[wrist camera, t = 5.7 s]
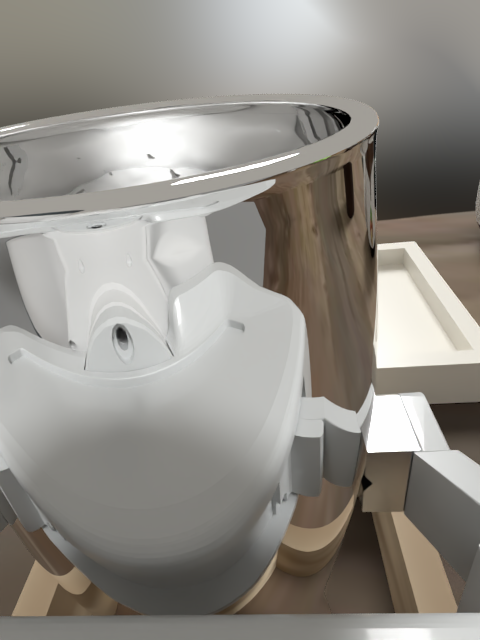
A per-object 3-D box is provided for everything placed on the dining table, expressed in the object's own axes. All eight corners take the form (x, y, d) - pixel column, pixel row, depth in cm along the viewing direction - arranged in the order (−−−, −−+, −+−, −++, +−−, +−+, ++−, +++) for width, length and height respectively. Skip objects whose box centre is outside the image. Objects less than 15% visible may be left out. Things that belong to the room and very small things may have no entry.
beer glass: (231, 502, 18) (160, 93, 10) (393, 621, 14) (489, 87, 6) (82, 656, 14) (-235, 170, 6) (250, 891, 10) (-56, 324, 2)
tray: (207, 414, 23) (200, 377, 21) (225, 284, 34) (221, 255, 33) (494, 401, 21) (505, 361, 20) (411, 271, 33) (414, 241, 32)
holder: (-55, 961, 9) (-131, 949, 8) (108, 483, 20) (89, 435, 18) (539, 999, 8) (590, 993, 7) (387, 474, 19) (393, 422, 17)
